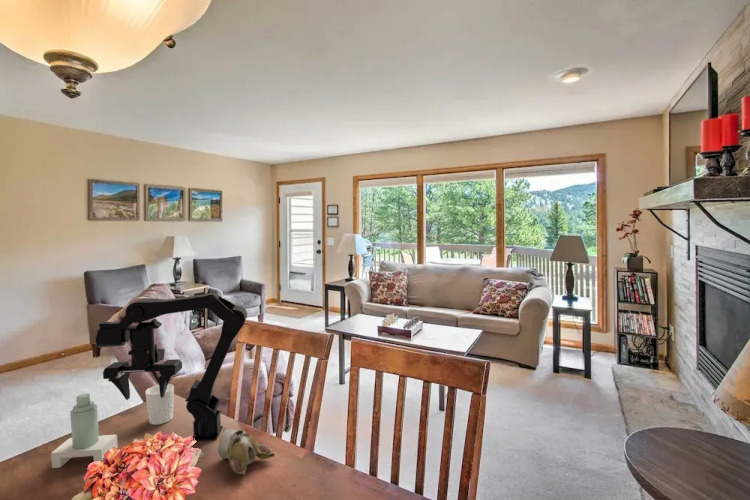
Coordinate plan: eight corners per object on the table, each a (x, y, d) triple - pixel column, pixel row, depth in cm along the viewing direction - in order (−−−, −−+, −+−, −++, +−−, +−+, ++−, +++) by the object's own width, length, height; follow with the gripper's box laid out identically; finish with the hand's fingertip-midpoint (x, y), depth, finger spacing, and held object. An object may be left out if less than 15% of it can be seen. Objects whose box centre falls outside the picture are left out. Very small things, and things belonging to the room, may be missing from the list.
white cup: (166, 426, 115) (164, 394, 115) (141, 426, 115) (139, 394, 115) (180, 413, 123) (178, 383, 123) (156, 413, 123) (155, 383, 123)
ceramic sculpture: (241, 413, 105) (277, 432, 97) (241, 442, 106) (276, 464, 98) (205, 431, 96) (241, 454, 88) (206, 462, 97) (241, 488, 89)
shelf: (117, 448, 104) (116, 434, 104) (102, 464, 97) (101, 449, 97) (71, 451, 103) (70, 437, 102) (52, 468, 96) (50, 453, 95)
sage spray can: (103, 436, 103) (101, 390, 102) (90, 448, 97) (87, 400, 96) (82, 437, 102) (79, 391, 101) (67, 450, 97) (63, 401, 96)
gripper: (188, 334, 114) (190, 384, 115) (123, 337, 112) (125, 387, 113) (172, 346, 103) (175, 401, 104) (100, 349, 101) (103, 405, 102)
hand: (145, 398), depth 106 cm, fingers open, 9 cm apart
